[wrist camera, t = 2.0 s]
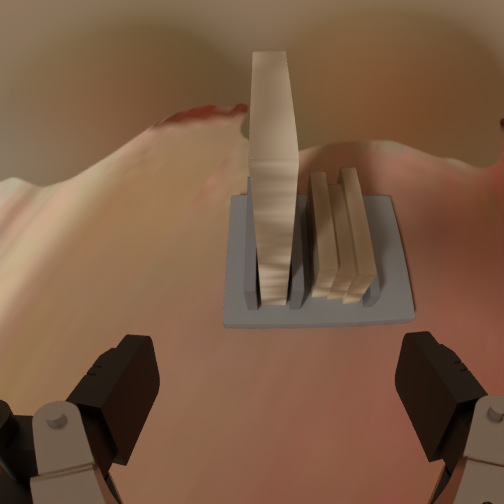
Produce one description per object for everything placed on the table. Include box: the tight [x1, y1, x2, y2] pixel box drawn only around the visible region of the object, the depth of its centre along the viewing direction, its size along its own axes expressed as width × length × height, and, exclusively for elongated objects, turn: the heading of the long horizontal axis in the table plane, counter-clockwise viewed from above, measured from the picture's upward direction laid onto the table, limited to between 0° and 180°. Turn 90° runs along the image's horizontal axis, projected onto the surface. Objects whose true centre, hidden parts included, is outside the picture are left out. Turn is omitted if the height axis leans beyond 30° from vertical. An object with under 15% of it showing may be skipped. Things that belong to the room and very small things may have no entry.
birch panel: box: [248, 51, 299, 305], centre depth 27 cm, size 2×12×20 cm, turn 179°
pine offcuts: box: [305, 167, 377, 304], centre depth 32 cm, size 5×12×7 cm, turn 179°
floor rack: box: [223, 177, 415, 328], centre depth 34 cm, size 20×16×6 cm
